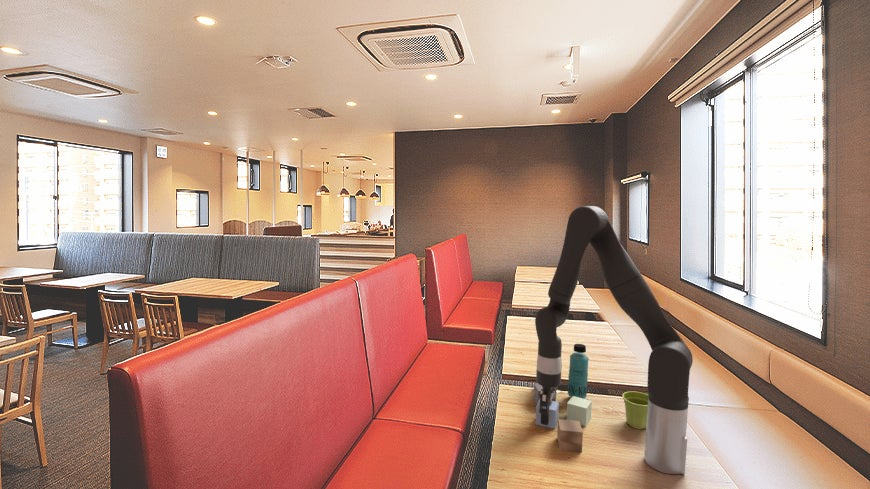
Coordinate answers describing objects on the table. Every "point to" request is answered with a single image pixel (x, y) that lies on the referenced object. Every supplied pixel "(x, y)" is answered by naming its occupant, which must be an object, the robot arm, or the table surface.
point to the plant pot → (636, 408)
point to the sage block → (579, 410)
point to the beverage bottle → (578, 372)
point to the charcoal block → (537, 392)
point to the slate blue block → (552, 415)
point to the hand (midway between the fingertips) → (546, 417)
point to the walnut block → (569, 435)
